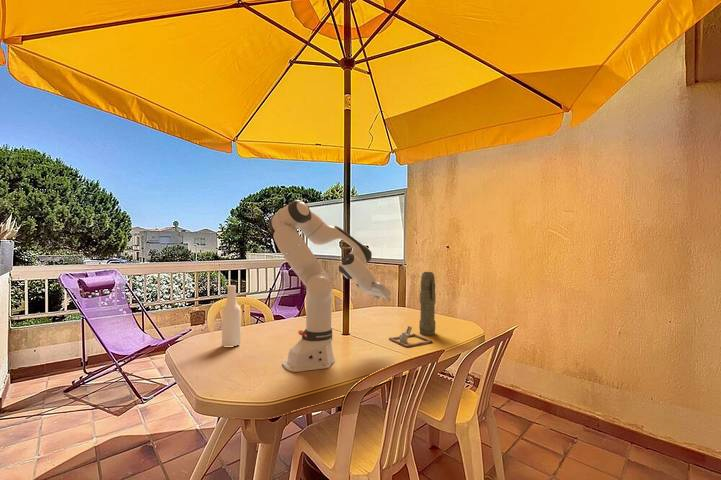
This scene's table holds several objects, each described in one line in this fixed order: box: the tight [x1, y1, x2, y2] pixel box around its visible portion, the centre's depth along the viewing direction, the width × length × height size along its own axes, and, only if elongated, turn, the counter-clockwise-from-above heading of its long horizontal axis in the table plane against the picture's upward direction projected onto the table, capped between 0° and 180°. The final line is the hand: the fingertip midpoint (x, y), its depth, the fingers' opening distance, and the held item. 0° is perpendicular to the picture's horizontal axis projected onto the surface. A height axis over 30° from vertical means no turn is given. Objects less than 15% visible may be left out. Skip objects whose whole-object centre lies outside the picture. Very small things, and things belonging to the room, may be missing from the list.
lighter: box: [399, 325, 413, 344], centre depth 180 cm, size 7×2×8 cm, turn 122°
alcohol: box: [221, 284, 242, 347], centre depth 171 cm, size 9×9×30 cm
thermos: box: [418, 271, 437, 336], centre depth 197 cm, size 9×12×35 cm
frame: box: [388, 333, 433, 349], centre depth 181 cm, size 17×15×1 cm
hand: (383, 299), depth 173 cm, fingers open, 8 cm apart
